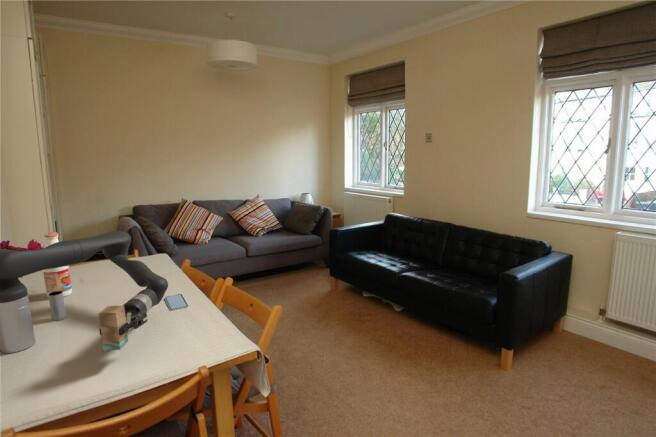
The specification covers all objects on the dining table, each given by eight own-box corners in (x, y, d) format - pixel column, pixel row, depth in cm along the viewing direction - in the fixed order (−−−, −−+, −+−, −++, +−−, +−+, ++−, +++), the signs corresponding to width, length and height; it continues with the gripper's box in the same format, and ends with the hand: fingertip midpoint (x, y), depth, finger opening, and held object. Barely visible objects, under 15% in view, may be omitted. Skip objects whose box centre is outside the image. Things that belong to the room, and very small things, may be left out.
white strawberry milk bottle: (49, 292, 179) (40, 232, 173) (73, 289, 183) (65, 230, 177) (44, 300, 171) (35, 237, 165) (70, 296, 174) (62, 234, 169)
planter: (64, 314, 156) (61, 290, 154) (67, 318, 153) (63, 293, 151) (50, 318, 153) (47, 293, 151) (53, 322, 150) (49, 296, 148)
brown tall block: (107, 305, 122) (112, 341, 125) (98, 312, 117) (103, 350, 120) (124, 305, 122) (128, 341, 125) (115, 312, 117) (120, 349, 120)
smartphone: (170, 310, 160) (164, 297, 172) (170, 312, 160) (164, 299, 172) (189, 306, 163) (181, 293, 176) (189, 308, 163) (182, 295, 176)
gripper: (158, 318, 136) (136, 343, 120) (116, 319, 136) (87, 344, 120) (156, 297, 135) (133, 320, 118) (113, 298, 135) (84, 321, 118)
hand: (110, 332), depth 119 cm, fingers closed on brown tall block, 5 cm apart
